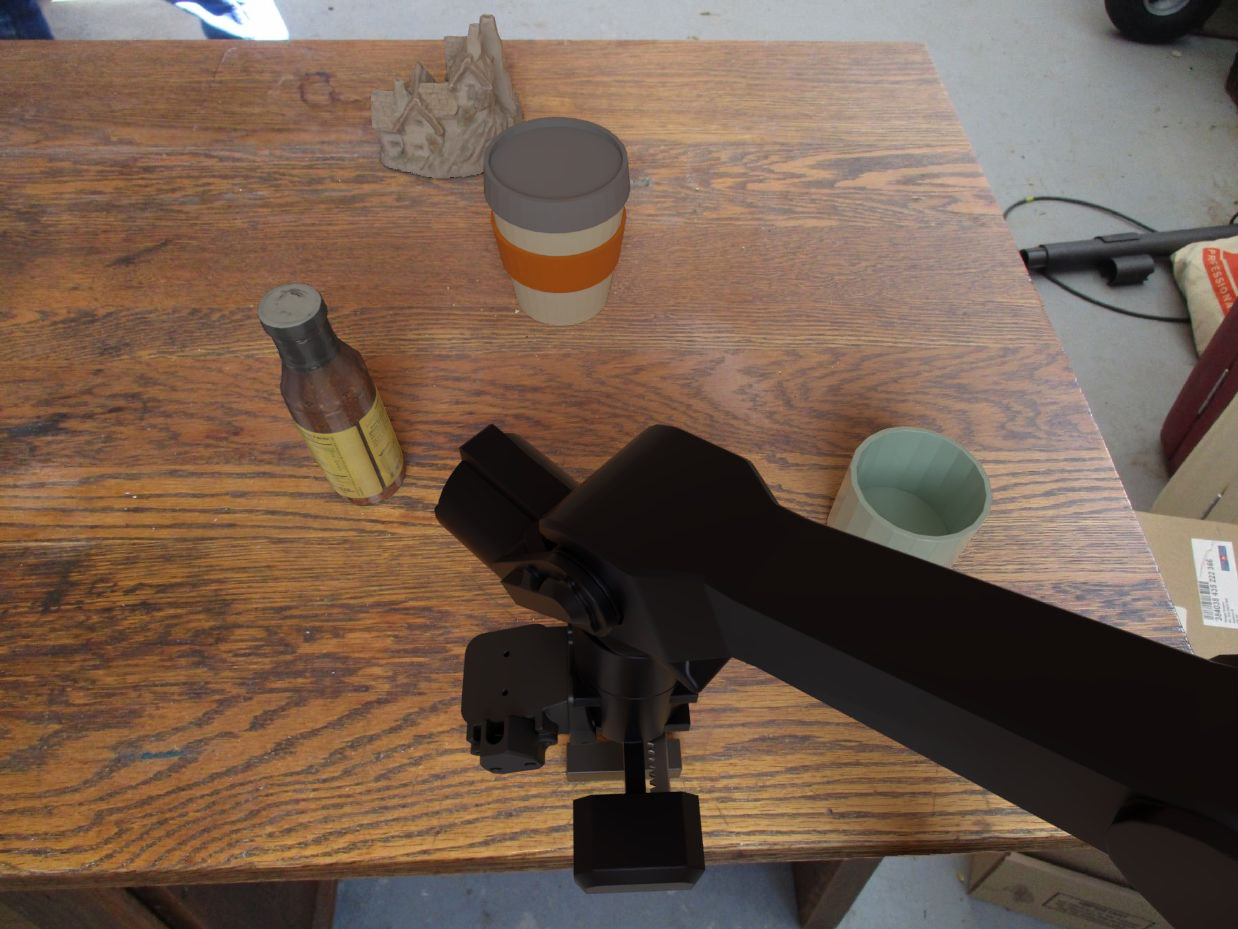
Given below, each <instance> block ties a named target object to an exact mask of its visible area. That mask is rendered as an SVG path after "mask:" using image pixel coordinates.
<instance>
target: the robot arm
mask: <svg viewBox="0 0 1238 929" xmlns="http://www.w3.org/2000/svg"><path fill="white" fill-rule="evenodd" d="M458 451H459V456H460V459H461V461H460V462H458V464H457V465H456V467H455V468H454V469H453V471H452V472H451V473H450V474H449V476H448V478H447V480H446V481H445V484H444V485H443V487H442V490H441V492H440V495H439V497H438V501H437V504H436V505H435V507H434V510H433V512H434V517H435V519H436V520H437V523H438V524H440V525H441V526H442V527H443V528H444V529H445V530H446V531H447V532H448V533H449V534H450V535H452V536H453V538H455V539H456V540H457V541H458V542H459V543H461V544H462V545H463V546H464V547H465V548H466V549H467V550H468V551H469V552H470V553H472V554H473V555H474V557H476V558H477V559H478V560H479V561H480V562H481V563H482V564H483V565H485V566H486V567H487V568H488V569H489V570H490V571H491V572H493V573H494V574H495V576H497V577H498V578H499V579H500V581H499V583H500V584H501V585H502V587H503V588H504V590H505V591H506V593H507V594H508V596H509V597H510V598H511V599H512V601H513V602H514V604H515V605H516V606H518V607H521V608H525V609H527V610H530V611H532V612H535V613H538V614H541V615H543V616H546V617H549V618H552V619H554V620H557V621H560V622H562V623H566V624H567V625H554V626H552V625H551V626H546V625H544V624H542V623H530V624H524V625H520V626H514V627H509V628H503V629H497V630H493V631H488V632H483V633H480V634H477V635H476V636H474V637H473V638H471V640H470V641H469V642H468V644H467V646H466V647H465V650H464V659H463V671H462V672H463V674H462V688H461V700H460V714H461V718H462V720H463V721H464V722H465V723H466V733H465V741H466V742H468V743H469V744H470V750H469V751H470V752H469V754H470V755H471V756H475V757H479V765H480V767H481V768H482V769H483V770H486V771H488V772H489V773H491V774H495V775H507V774H514V773H521V772H522V773H523V772H529V771H535V770H536V771H537V770H540V769H541V768H543V767H544V766H545V765H546V752H547V750H548V748H549V747H553V746H556V745H558V744H559V736H560V735H569V739H570V741H569V742H571V745H585V744H596V742H597V741H598V740H597V735H602V736H603V737H604V738H605V739H608V740H609V741H615V742H619V743H623V758H624V780H623V781H624V782H623V783H624V793H623V792H622V793H597V794H596V793H594V794H589V795H588V794H587V795H585V796H582V797H577V798H575V799H572V838H573V839H572V847H573V848H572V856H573V857H572V858H573V859H572V860H573V861H572V863H573V864H572V868H573V869H572V870H573V874H572V875H573V881H574V883H575V884H576V886H578V887H579V888H580V890H582V891H583V893H584V894H585V895H603V894H627V893H628V894H629V893H649V892H650V893H651V892H672V891H674V892H675V891H691V890H693V889H694V887H695V886H696V885H697V883H698V882H699V881H700V879H701V878H702V877H703V875H704V873H705V871H706V862H705V848H704V840H703V828H702V826H703V825H702V816H701V805H700V795H699V794H695V793H691V792H687V791H683V790H676V791H675V790H674V791H671V778H670V777H669V763H668V749H667V739H668V738H667V733H672V732H673V733H674V732H675V733H676V732H678V733H679V732H689V731H690V729H691V725H692V724H691V713H690V712H691V710H690V704H697V703H698V699H699V696H700V693H702V692H703V690H704V689H705V688H706V687H707V686H708V685H709V684H710V683H711V681H713V679H714V678H715V677H716V676H717V675H718V674H719V673H720V671H721V670H722V669H723V668H724V667H725V666H726V665H727V664H728V662H729V661H730V660H732V659H735V660H737V661H740V662H742V663H744V664H747V665H750V666H752V667H755V668H757V669H759V670H761V671H762V672H764V673H766V674H768V675H770V676H772V677H774V678H775V679H778V680H780V681H781V682H783V683H785V684H787V685H789V686H790V687H792V688H794V689H796V690H798V691H800V692H802V693H804V694H806V695H808V696H810V697H811V698H813V699H815V700H817V701H819V702H820V703H823V704H824V705H826V706H829V707H830V708H832V709H834V710H836V711H838V712H839V713H841V714H843V715H845V716H847V717H849V718H851V719H852V720H855V721H856V722H858V723H860V724H862V725H864V726H866V727H868V728H869V729H871V730H874V731H875V732H877V733H879V734H881V735H883V736H884V737H887V738H889V739H890V740H891V741H894V742H895V743H897V744H900V745H901V746H904V747H905V748H907V749H909V750H911V751H913V752H915V753H916V754H918V755H920V756H922V757H924V758H926V759H928V760H930V761H932V762H933V763H934V764H937V765H939V766H941V767H943V768H945V769H947V770H948V771H950V772H952V773H954V774H956V775H957V776H960V777H962V778H964V779H965V780H967V781H969V782H971V783H973V784H975V785H976V786H979V787H980V788H982V789H984V790H985V791H987V792H989V793H992V794H993V795H995V796H997V797H999V798H1000V799H1002V800H1004V801H1007V802H1008V803H1010V804H1012V805H1013V806H1016V807H1017V808H1020V809H1022V810H1023V811H1026V812H1027V813H1029V814H1030V815H1033V816H1034V817H1036V818H1038V819H1041V820H1042V821H1044V822H1046V823H1048V824H1050V825H1051V826H1053V827H1056V828H1057V829H1059V830H1060V831H1062V832H1065V834H1066V833H1067V834H1068V835H1070V836H1072V837H1074V838H1076V839H1078V840H1080V841H1082V842H1083V843H1085V844H1086V845H1089V846H1091V847H1093V848H1095V849H1096V850H1098V851H1100V852H1102V853H1104V854H1106V855H1107V856H1108V858H1109V859H1110V861H1111V862H1112V864H1113V865H1114V866H1115V867H1116V868H1117V870H1118V871H1119V872H1120V874H1121V875H1122V876H1123V878H1125V880H1126V881H1127V882H1128V884H1130V885H1131V886H1132V887H1133V888H1134V889H1135V891H1137V893H1139V895H1140V896H1141V897H1142V898H1143V899H1144V900H1145V901H1146V902H1147V903H1148V904H1149V905H1150V906H1151V907H1152V908H1153V909H1154V910H1155V911H1156V912H1157V913H1158V914H1159V915H1160V916H1161V917H1162V918H1163V919H1164V920H1165V921H1166V922H1167V923H1168V924H1169V926H1171V927H1172V928H1173V929H1238V653H1232V654H1231V653H1230V654H1229V653H1227V654H1222V653H1221V654H1217V655H1215V656H1213V657H1210V658H1205V657H1202V656H1199V655H1196V654H1194V653H1191V652H1188V651H1185V650H1183V649H1180V648H1177V647H1174V646H1171V645H1169V644H1165V643H1163V642H1160V641H1157V640H1154V639H1151V638H1149V637H1145V636H1142V635H1140V634H1137V633H1135V632H1131V631H1129V630H1125V629H1124V628H1120V627H1117V626H1114V625H1111V624H1108V623H1106V622H1103V621H1100V620H1097V619H1095V618H1092V617H1089V616H1086V615H1083V614H1080V613H1078V612H1074V611H1071V610H1069V609H1066V608H1063V607H1061V606H1058V605H1055V604H1052V603H1049V602H1047V601H1043V600H1040V599H1037V598H1035V597H1033V596H1029V595H1026V594H1023V593H1021V592H1018V591H1015V590H1012V589H1009V588H1006V587H1004V586H1001V585H998V584H996V583H992V582H990V581H986V580H983V579H982V578H978V577H975V576H972V575H969V574H966V573H964V572H961V571H959V570H955V569H952V568H947V567H944V566H941V565H938V564H935V563H933V562H930V561H927V560H924V559H921V558H918V557H916V556H913V555H910V554H907V553H904V552H901V551H898V550H896V549H893V548H890V547H887V546H884V545H881V544H879V543H876V542H873V541H870V540H867V539H864V538H862V537H859V536H856V535H853V534H850V533H847V532H844V531H842V530H839V529H836V528H833V527H830V526H827V524H825V523H821V522H819V521H816V520H813V519H811V518H808V517H806V516H804V515H803V514H800V513H798V512H796V511H794V510H792V509H790V508H788V507H786V506H784V505H783V504H780V503H779V501H778V500H777V498H776V497H775V495H774V494H773V492H772V491H771V489H770V487H769V486H768V484H767V483H766V481H765V480H764V478H763V476H762V475H761V473H760V472H759V470H758V468H757V467H756V466H755V464H754V463H753V462H752V460H750V459H748V458H746V457H744V456H742V455H741V454H738V453H735V452H734V451H731V450H729V449H728V448H725V447H723V446H721V445H719V444H717V443H714V442H712V441H710V440H708V439H706V438H703V437H702V436H699V435H697V434H695V433H693V432H690V431H688V430H686V429H683V428H681V427H677V426H673V425H666V424H659V423H657V424H653V425H649V426H647V427H646V428H645V429H644V430H643V431H641V432H640V433H638V434H637V435H636V436H635V437H634V438H632V439H631V440H630V441H629V442H628V443H627V444H625V445H624V446H623V447H621V449H620V450H618V451H617V452H616V453H615V454H613V455H612V456H611V457H610V458H609V459H608V460H607V461H605V462H604V463H603V464H602V465H601V466H600V467H599V468H597V469H596V470H595V471H594V472H592V473H591V475H589V476H588V477H586V479H584V480H583V481H582V482H579V481H578V480H577V479H576V478H574V477H573V476H572V475H570V473H568V472H567V471H566V470H564V469H563V468H562V467H561V466H559V465H558V464H557V463H555V461H553V460H552V459H551V458H549V457H548V456H547V455H546V454H544V453H543V452H542V451H540V450H539V449H538V448H536V447H535V446H534V445H533V444H531V443H530V442H529V441H528V440H527V439H525V438H524V437H523V436H522V435H520V434H517V433H515V432H504V431H503V430H502V429H500V428H499V427H497V425H495V424H494V423H489V424H488V425H486V426H485V427H483V428H482V429H481V430H480V431H478V432H477V433H475V435H473V436H472V437H470V438H469V439H468V440H466V441H464V443H462V444H461V445H460V446H458ZM644 742H647V745H649V746H652V747H651V748H649V749H648V753H650V754H653V755H651V756H649V757H648V761H651V762H654V763H651V764H649V769H652V770H654V771H652V772H650V773H649V777H652V778H655V779H649V785H650V786H653V787H651V788H649V791H647V779H645V762H644V744H643V743H644Z"/></svg>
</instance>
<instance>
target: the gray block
mask: <svg viewBox="0 0 1238 929" xmlns="http://www.w3.org/2000/svg"><path fill="white" fill-rule="evenodd" d="M643 744H644V762H645V779H646V780H653V779H655V778H652V777H649V773H650V772H652V771H654V770H652V769H649V764H651V763H654V762H651V761H648V757H649V756H651V755H653V754H650V753H648V749H649V748H651V747H652V746H649V745H647V742H644V743H643ZM565 747H566V748H565V751H566V756H565V758H566V760H565V761H566V762H565V764H566V766H565V768H566V769H565V770H566V780H567V782H568V783H572V782H575V783H576V782H598V781H621V780H622V781H624V758H623V743H619V742H615V741H612V740H599V741H598V740H597V742H596V744H585V745H571V741H569V742H566V744H565ZM681 748H682V747H681V739H680V738H667V749H668V763H669V777H670V779H679V778H681V774H682V771H683V761H682V750H681Z"/></svg>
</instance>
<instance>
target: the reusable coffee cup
mask: <svg viewBox="0 0 1238 929" xmlns="http://www.w3.org/2000/svg"><path fill="white" fill-rule="evenodd" d="M628 158H629V156H628V151H627V149H626V146H625V144H624V143H623V141H622V140H621V139H620V138H619V137H618V136H617V135H616V134H615V133H613V132H612V131H611V130H610V129H608V128H606V127H604V126H602V125H600V124H598V123H595V122H592V121H589V120H587V119H586V120H585V119H581V118H577V117H570V116H569V117H567V116H546V117H537V118H536V117H535V118H532V119H529V120H523V122H521V123H518V124H516V125H513V126H511V127H509V128H507V129H506V130H504V131H502V132H501V133H499V134H498V135H497V136H496V137H495V138H493V140H492V141H491V142H490V144H489V145H488V146H487V148H486V151H485V153H484V162H483V170H484V173H483V194H484V199H485V201H486V203H487V206H489V208H490V209H491V210H490V224H491V228H492V231H493V235H494V238H495V241H496V242H495V243H496V245H497V249H498V253H499V255H500V259H501V260H500V261H501V262H502V266H503V267H504V269H505V271H506V273H507V274H508V275H509V276H510V279H511V282H512V285H513V289H514V292H515V296H516V300H517V303H518V305H519V307H520V309H521V311H523V312H524V314H526V315H527V316H528V317H529V318H531V319H533V320H535V321H537V322H538V323H541V324H544V325H545V324H546V325H549V326H555V327H556V326H557V327H567V326H573V325H579V324H582V323H585V322H587V321H590V320H591V319H593V318H594V317H595V316H598V314H600V312H601V311H602V310H603V309H604V308H605V306H606V305H607V302H608V298H609V293H610V287H611V281H612V276H613V273H614V271H615V269H616V267H617V266H618V264H619V260H620V255H621V251H622V245H623V239H624V235H625V234H624V233H625V228H626V222H627V208H626V206H625V205H626V204H627V202H628V200H629V199H630V198H629V197H630V193H631V179H630V169H629V168H630V167H629V159H628Z"/></svg>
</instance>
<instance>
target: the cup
mask: <svg viewBox="0 0 1238 929" xmlns="http://www.w3.org/2000/svg"><path fill="white" fill-rule="evenodd" d="M985 470H986V469H984V467H983V465H982V463H981V462H980V460H979V459H977V457H975V455H974V454H973V453H972V452H971V451H970V450H969V449H968V448H966V447H965V446H964V445H963V444H961V443H959V442H958V441H956V440H954V439H953V438H951V437H950V436H948V435H946V434H944V433H942V432H941V433H940V432H939V431H935V430H931V429H929V428H927V427H919V426H910V425H909V426H908V425H900V426H895V427H887V428H884V429H881V430H879V431H877V432H875V433H873V434H871V435H869V436H867V437H866V438H865V439H864V440H863V441H862V442H861V443H860V445H858V447H857V448H855V451H854V453H853V455H852V457H851V460H850V462H849V465H848V467H847V469H846V472H845V474H844V477H843V479H842V482H841V483H840V486H839V488H838V491H837V493H836V496H835V498H834V500H833V503H832V505H831V508H830V511H829V513H828V516H827V519H826V525H827V526H830V527H833V528H836V529H839V530H842V531H844V532H847V533H850V534H853V535H856V536H859V537H862V538H864V539H867V540H870V541H873V542H876V543H879V544H881V545H884V546H887V547H890V548H893V549H896V550H898V551H901V552H904V553H907V554H910V555H913V556H916V557H918V558H921V559H924V560H927V561H930V562H933V563H935V564H938V565H941V566H944V567H947V568H950V569H952V568H953V566H954V565H955V563H956V561H957V560H958V559H959V557H960V556H961V555H962V553H963V552H964V550H965V549H966V547H967V546H968V545H969V543H970V542H971V541H972V539H973V538H974V536H975V535H976V534H977V532H978V531H979V530H980V528H981V527H982V525H983V524H984V523H985V521H987V518H988V517H989V515H990V512H991V507H992V503H993V497H994V496H993V490H992V486H991V480H990V477H989V476H988V473H987V472H986V471H985Z"/></svg>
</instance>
